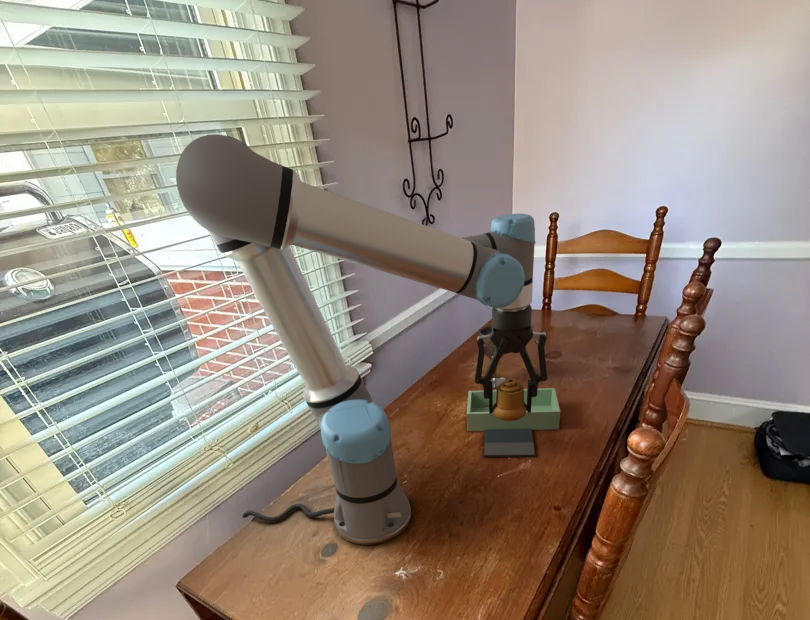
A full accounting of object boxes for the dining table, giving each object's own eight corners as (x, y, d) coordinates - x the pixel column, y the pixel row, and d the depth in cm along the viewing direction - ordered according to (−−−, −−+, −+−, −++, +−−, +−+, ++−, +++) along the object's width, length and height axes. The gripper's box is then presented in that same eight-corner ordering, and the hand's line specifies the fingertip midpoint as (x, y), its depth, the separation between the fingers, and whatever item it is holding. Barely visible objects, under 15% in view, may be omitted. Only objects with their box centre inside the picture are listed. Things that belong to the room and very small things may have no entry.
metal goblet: (514, 383, 134) (516, 331, 125) (489, 390, 132) (489, 338, 123) (499, 373, 140) (500, 323, 131) (475, 380, 138) (474, 330, 130)
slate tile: (484, 457, 107) (484, 455, 106) (485, 431, 115) (484, 429, 115) (534, 456, 105) (535, 454, 104) (531, 430, 113) (531, 428, 113)
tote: (467, 431, 117) (466, 413, 114) (469, 407, 126) (468, 390, 123) (558, 429, 113) (560, 411, 110) (553, 404, 122) (555, 387, 119)
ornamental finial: (485, 413, 107) (510, 402, 110) (508, 426, 101) (534, 414, 104) (485, 381, 102) (511, 370, 105) (509, 392, 97) (536, 380, 100)
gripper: (564, 295, 93) (555, 400, 106) (459, 303, 96) (464, 403, 110) (569, 308, 87) (559, 417, 100) (457, 315, 90) (462, 419, 104)
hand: (509, 409), depth 105 cm, fingers closed on ornamental finial, 7 cm apart
